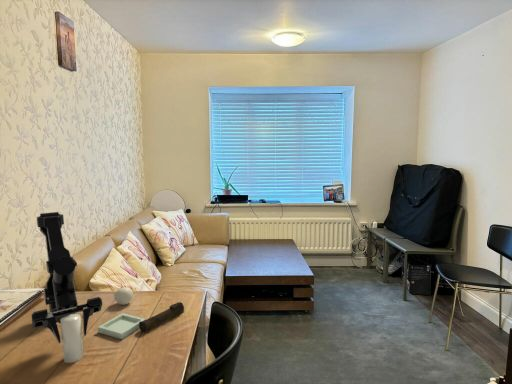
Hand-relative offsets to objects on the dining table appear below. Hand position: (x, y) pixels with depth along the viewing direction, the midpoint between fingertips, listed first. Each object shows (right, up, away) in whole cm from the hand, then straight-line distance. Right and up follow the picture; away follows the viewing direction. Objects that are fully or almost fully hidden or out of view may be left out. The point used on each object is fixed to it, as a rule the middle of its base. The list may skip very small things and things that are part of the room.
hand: (72, 338), depth 102 cm
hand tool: (+20, -4, +24) cm, 32 cm away
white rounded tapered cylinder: (-1, -6, +2) cm, 7 cm away
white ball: (0, -2, +39) cm, 39 cm away
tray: (+7, -4, +19) cm, 21 cm away
